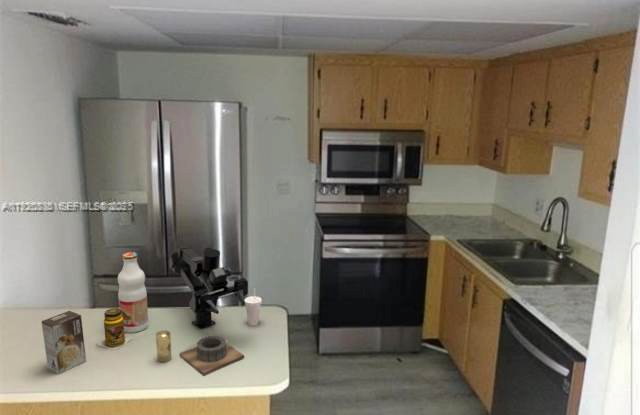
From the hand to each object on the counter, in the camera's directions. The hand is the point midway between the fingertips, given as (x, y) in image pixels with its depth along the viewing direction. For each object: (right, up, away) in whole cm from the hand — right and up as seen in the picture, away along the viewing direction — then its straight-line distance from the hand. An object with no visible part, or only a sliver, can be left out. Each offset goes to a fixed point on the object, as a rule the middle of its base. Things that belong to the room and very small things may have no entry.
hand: (231, 308), depth 154 cm
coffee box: (-51, -17, -4) cm, 54 cm away
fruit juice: (-39, -11, +20) cm, 45 cm away
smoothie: (+3, -11, +25) cm, 28 cm away
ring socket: (-7, -16, +2) cm, 18 cm away
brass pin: (-22, -16, 0) cm, 27 cm away
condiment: (-42, -14, +9) cm, 45 cm away
